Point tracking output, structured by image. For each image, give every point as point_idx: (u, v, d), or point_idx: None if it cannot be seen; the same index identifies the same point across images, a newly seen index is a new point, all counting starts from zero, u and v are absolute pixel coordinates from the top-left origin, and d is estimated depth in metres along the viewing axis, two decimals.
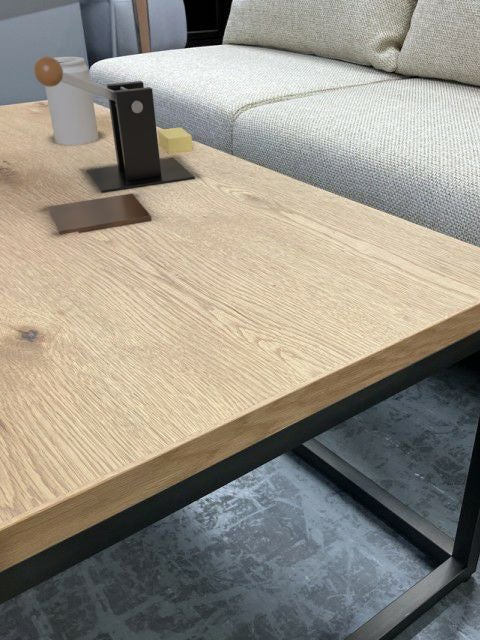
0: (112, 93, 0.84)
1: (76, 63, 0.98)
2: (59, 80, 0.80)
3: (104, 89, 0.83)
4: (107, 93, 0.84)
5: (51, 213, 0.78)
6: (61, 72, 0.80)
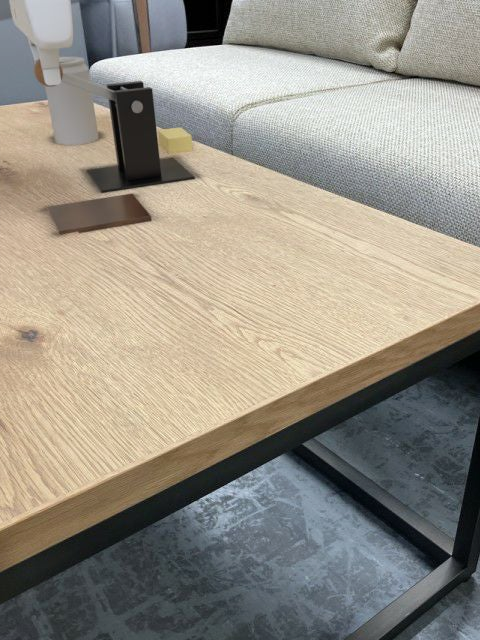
0: (112, 93, 0.84)
1: (76, 63, 0.98)
2: None
3: (104, 89, 0.83)
4: (107, 93, 0.84)
5: (51, 213, 0.78)
6: (61, 72, 0.80)
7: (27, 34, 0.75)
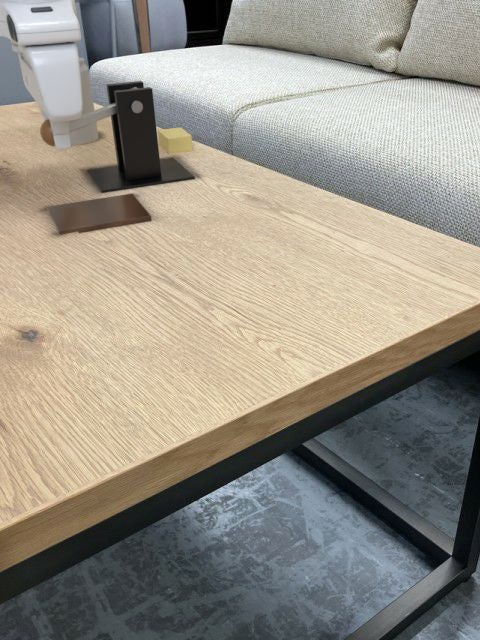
0: (111, 108, 0.85)
1: None
2: None
3: (103, 110, 0.84)
4: (108, 111, 0.85)
5: (51, 213, 0.78)
6: None
7: (39, 104, 0.79)
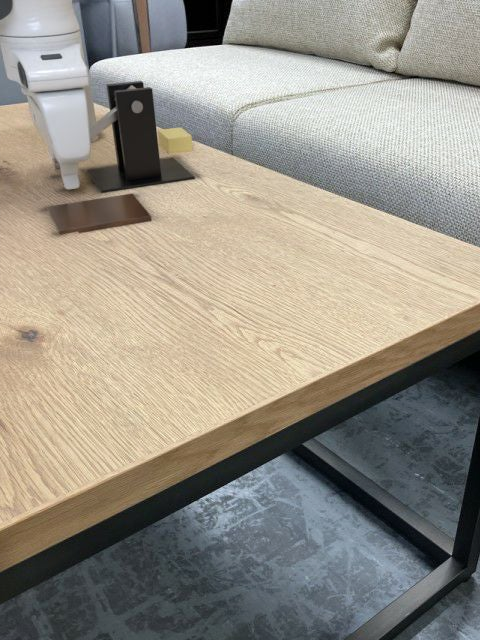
0: (114, 114, 0.85)
1: None
2: None
3: (106, 118, 0.85)
4: (111, 118, 0.85)
5: (51, 213, 0.78)
6: None
7: (47, 144, 0.81)
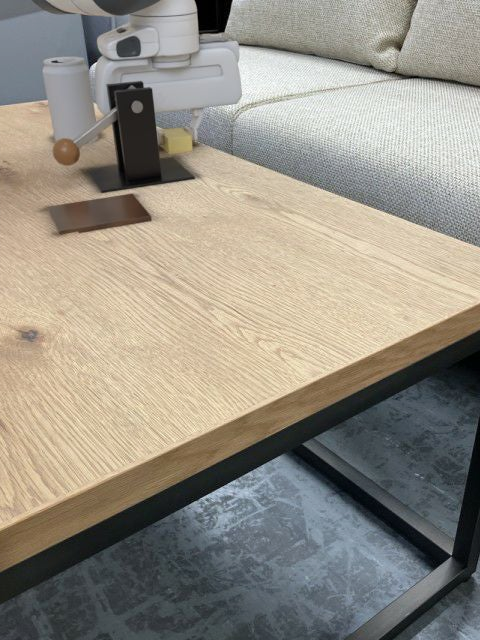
0: (114, 114, 0.85)
1: (76, 63, 0.98)
2: (77, 150, 0.85)
3: (106, 118, 0.85)
4: (111, 118, 0.85)
5: (51, 213, 0.78)
6: (72, 144, 0.84)
7: None
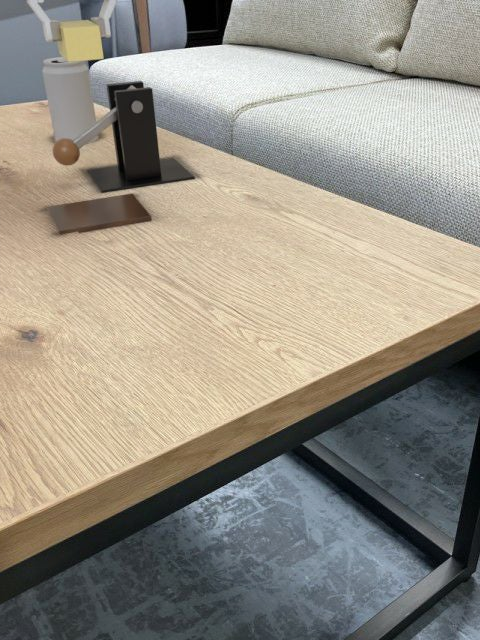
0: (114, 114, 0.85)
1: (76, 63, 0.98)
2: (77, 150, 0.85)
3: (106, 118, 0.85)
4: (111, 118, 0.85)
5: (51, 213, 0.78)
6: (72, 144, 0.84)
7: None
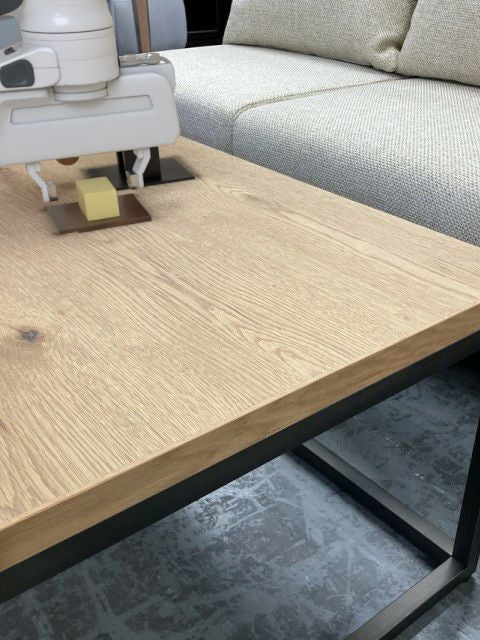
0: None
1: None
2: None
3: None
4: None
5: (51, 213, 0.78)
6: None
7: None
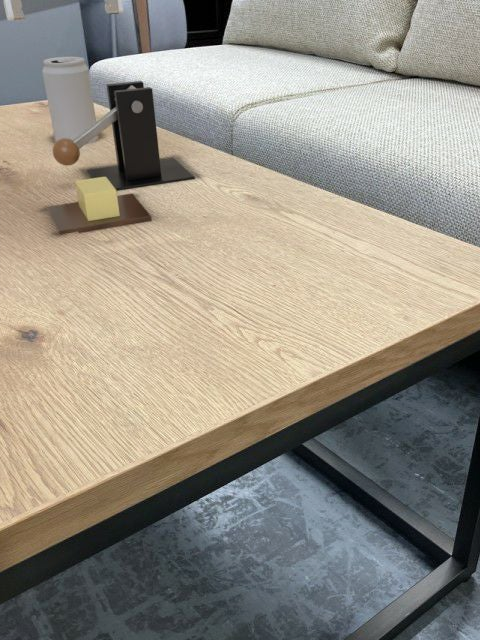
0: (114, 114, 0.85)
1: (76, 63, 0.98)
2: (77, 150, 0.85)
3: (106, 118, 0.85)
4: (111, 118, 0.85)
5: (51, 213, 0.78)
6: (72, 144, 0.84)
7: None
